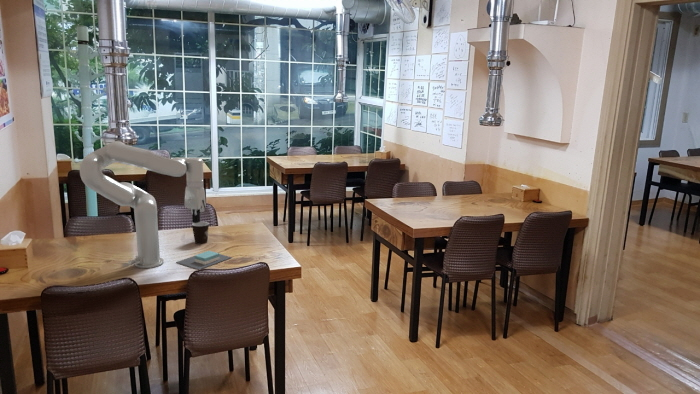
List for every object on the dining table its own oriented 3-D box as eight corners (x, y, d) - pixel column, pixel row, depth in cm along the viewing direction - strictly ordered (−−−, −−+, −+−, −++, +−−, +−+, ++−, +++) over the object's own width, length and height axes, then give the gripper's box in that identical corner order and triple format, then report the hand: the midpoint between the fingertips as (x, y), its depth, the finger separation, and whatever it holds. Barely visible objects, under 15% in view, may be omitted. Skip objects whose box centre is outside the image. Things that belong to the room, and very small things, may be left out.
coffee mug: (199, 245, 271) (198, 227, 269) (189, 242, 276) (188, 224, 274) (217, 240, 280) (216, 222, 278) (207, 237, 285) (206, 219, 283)
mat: (199, 270, 237) (199, 269, 237) (176, 262, 245) (176, 262, 245) (231, 258, 253) (231, 257, 253) (208, 251, 262) (208, 251, 262)
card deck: (194, 261, 246) (205, 264, 243) (194, 255, 246) (204, 258, 242) (209, 256, 254) (219, 259, 250) (208, 250, 253) (219, 253, 250)
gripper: (177, 183, 244) (179, 221, 248) (199, 187, 236) (200, 226, 240) (190, 181, 250) (191, 218, 254) (212, 185, 242) (213, 223, 246)
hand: (196, 222), depth 247 cm, fingers closed
